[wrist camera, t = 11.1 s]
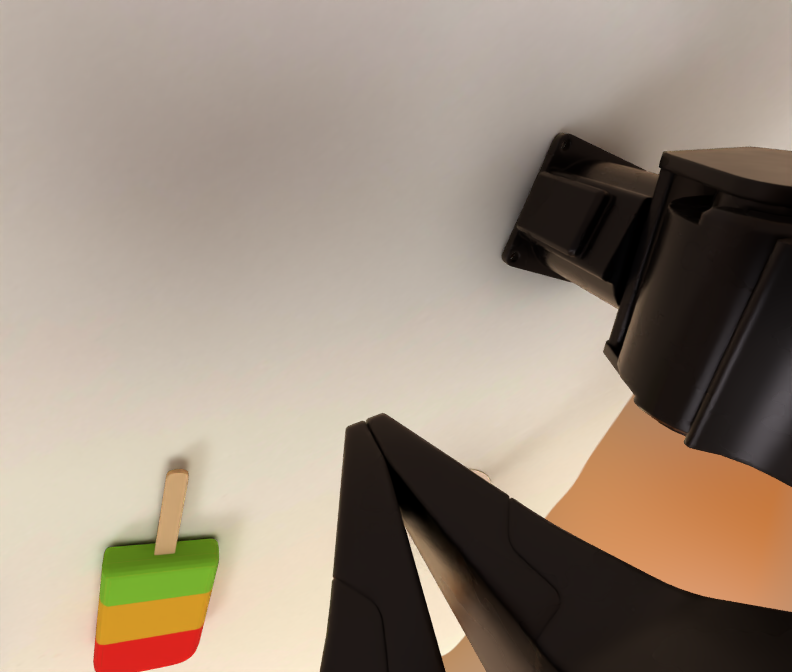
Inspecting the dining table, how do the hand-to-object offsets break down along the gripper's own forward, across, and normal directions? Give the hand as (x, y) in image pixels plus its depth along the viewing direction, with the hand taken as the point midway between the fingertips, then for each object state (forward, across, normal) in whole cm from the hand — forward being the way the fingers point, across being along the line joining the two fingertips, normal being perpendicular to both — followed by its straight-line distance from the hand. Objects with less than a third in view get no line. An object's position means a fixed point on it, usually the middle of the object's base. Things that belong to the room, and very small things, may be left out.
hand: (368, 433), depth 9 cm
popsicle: (+12, +12, +16) cm, 23 cm away
